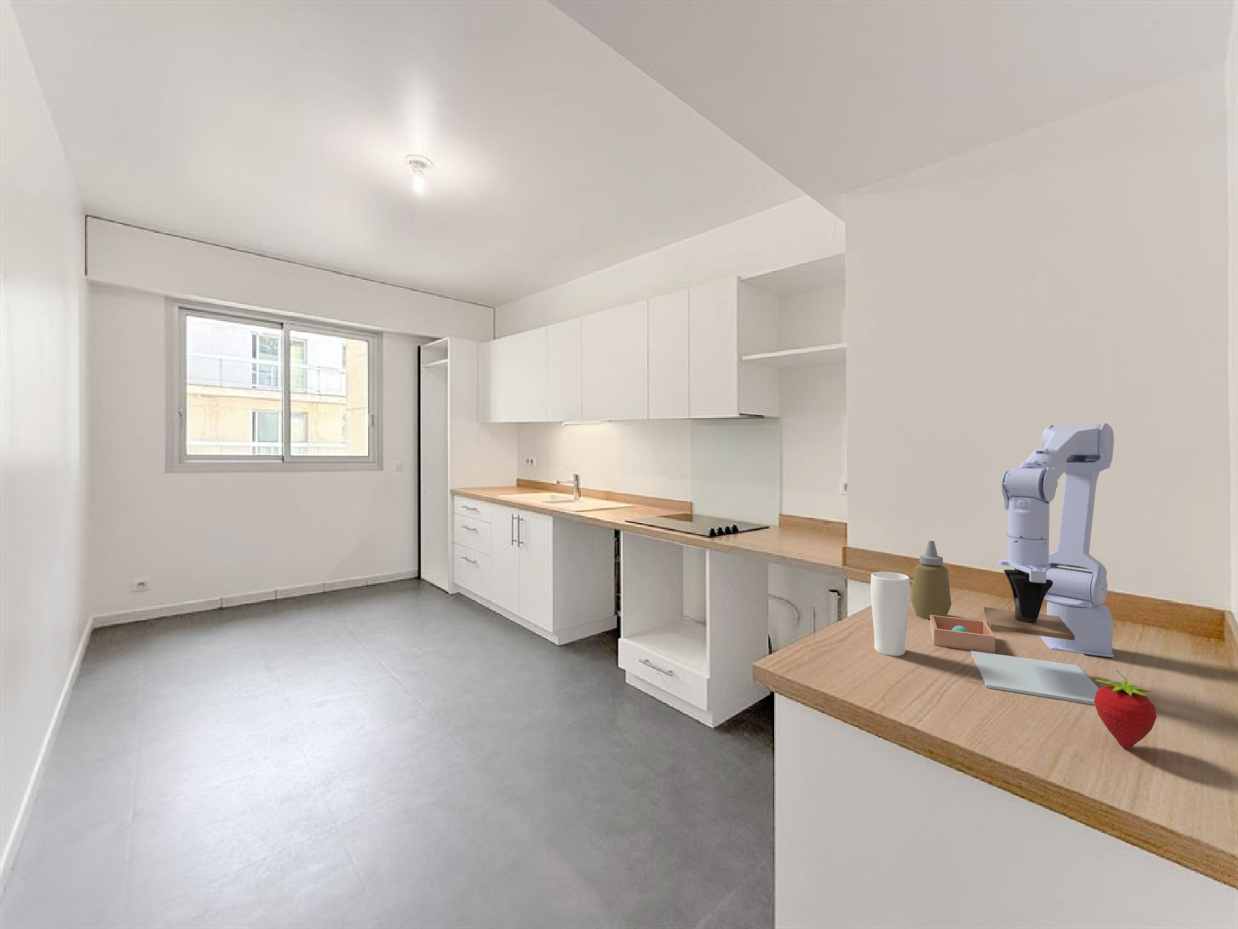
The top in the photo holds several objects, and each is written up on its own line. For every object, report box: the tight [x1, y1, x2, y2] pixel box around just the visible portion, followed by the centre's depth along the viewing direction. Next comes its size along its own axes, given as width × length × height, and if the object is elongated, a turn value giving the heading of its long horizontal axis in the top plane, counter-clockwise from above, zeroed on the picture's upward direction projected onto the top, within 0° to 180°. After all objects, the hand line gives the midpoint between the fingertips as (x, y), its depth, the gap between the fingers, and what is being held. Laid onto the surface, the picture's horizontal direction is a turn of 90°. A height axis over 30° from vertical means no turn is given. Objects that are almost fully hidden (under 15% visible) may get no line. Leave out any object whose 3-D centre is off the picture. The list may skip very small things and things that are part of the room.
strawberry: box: [1094, 669, 1158, 749], centre depth 69 cm, size 6×8×10 cm
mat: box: [970, 650, 1100, 706], centre depth 90 cm, size 16×16×1 cm
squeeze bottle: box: [910, 540, 952, 620], centre depth 121 cm, size 8×8×18 cm
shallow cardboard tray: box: [929, 615, 996, 654], centre depth 106 cm, size 10×10×4 cm
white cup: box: [870, 571, 911, 657], centre depth 101 cm, size 7×7×15 cm
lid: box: [983, 598, 1075, 641], centre depth 91 cm, size 11×11×4 cm
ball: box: [952, 626, 968, 632], centre depth 106 cm, size 3×3×3 cm
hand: (1026, 614), depth 91 cm, fingers closed on lid, 3 cm apart
